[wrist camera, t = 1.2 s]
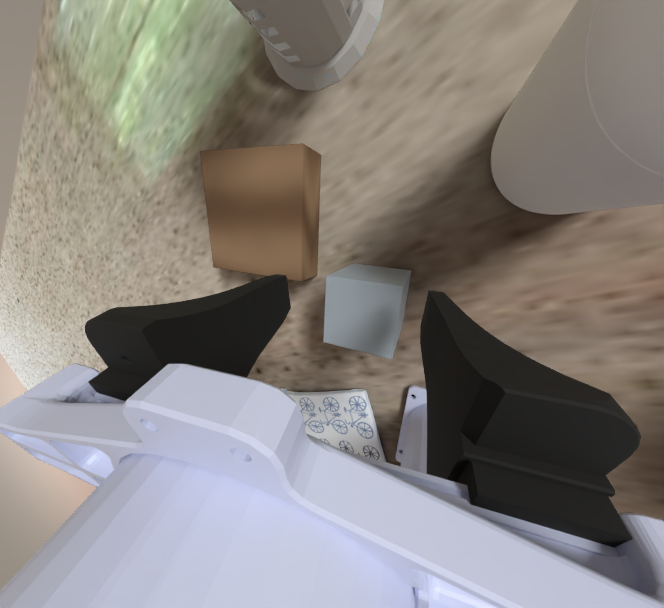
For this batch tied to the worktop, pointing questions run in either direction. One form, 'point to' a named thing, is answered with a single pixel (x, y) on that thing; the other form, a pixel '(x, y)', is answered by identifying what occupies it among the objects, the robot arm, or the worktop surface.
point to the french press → (313, 36)
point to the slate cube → (366, 308)
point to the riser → (264, 209)
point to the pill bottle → (589, 115)
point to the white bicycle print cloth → (341, 420)
